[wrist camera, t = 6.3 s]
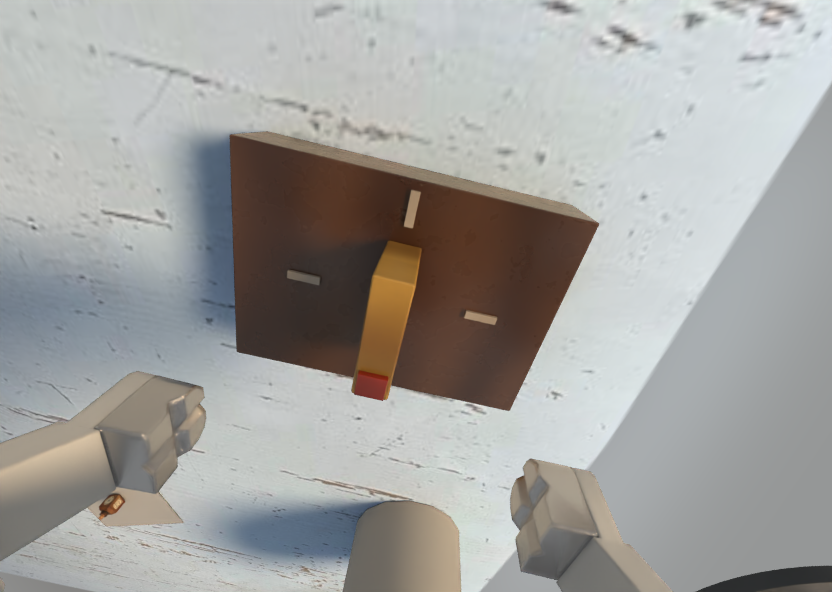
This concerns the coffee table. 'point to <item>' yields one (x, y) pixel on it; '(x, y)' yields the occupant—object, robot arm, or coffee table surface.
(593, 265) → the coffee table surface
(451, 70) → the coffee table surface
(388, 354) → the lock turn
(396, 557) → the cup
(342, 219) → the plate
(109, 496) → the square tile
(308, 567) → the coffee table surface
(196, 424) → the robot arm
